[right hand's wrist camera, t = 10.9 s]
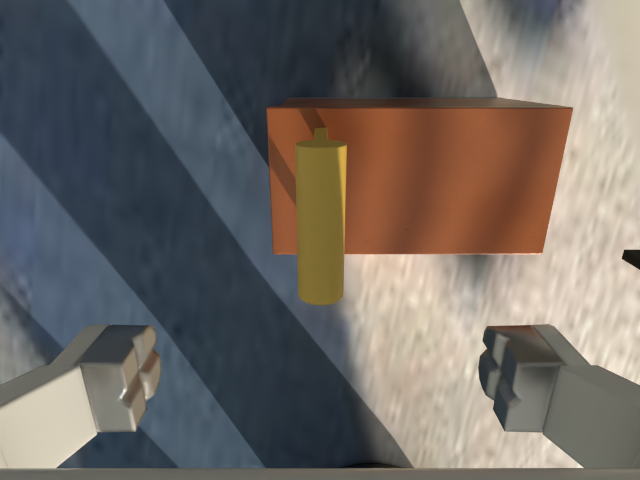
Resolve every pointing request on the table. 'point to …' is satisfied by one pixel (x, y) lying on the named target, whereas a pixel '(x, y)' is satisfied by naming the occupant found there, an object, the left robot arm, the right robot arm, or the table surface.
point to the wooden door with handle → (409, 183)
